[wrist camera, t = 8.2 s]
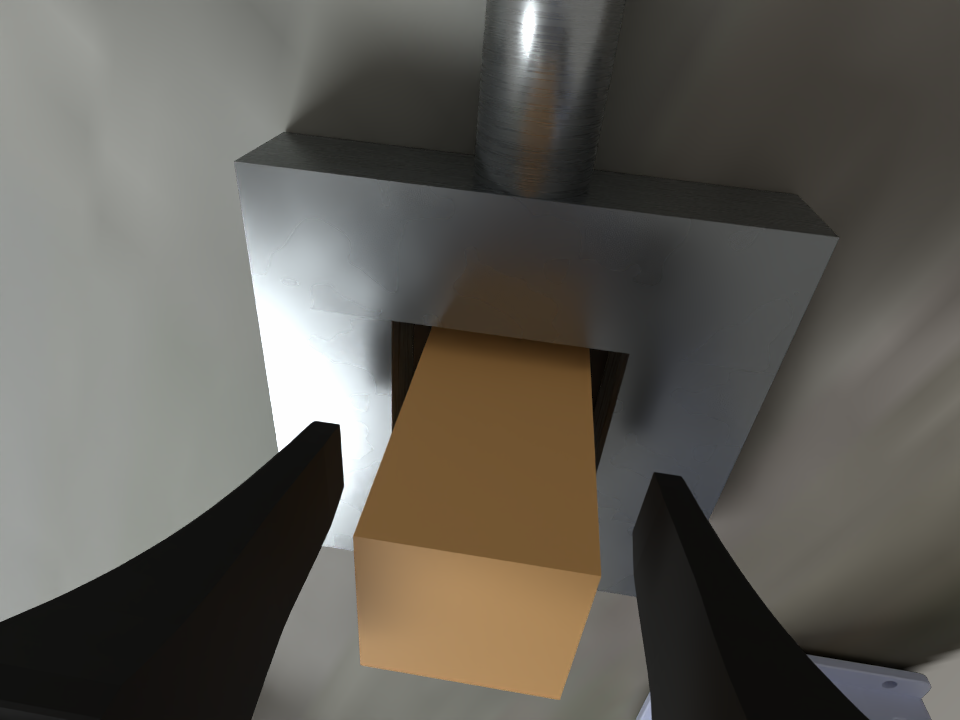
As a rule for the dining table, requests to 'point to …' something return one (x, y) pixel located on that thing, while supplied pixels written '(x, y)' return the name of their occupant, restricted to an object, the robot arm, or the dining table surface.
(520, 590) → the tan cardboard box
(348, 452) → the bracket head
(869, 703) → the robot arm
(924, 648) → the dining table surface
